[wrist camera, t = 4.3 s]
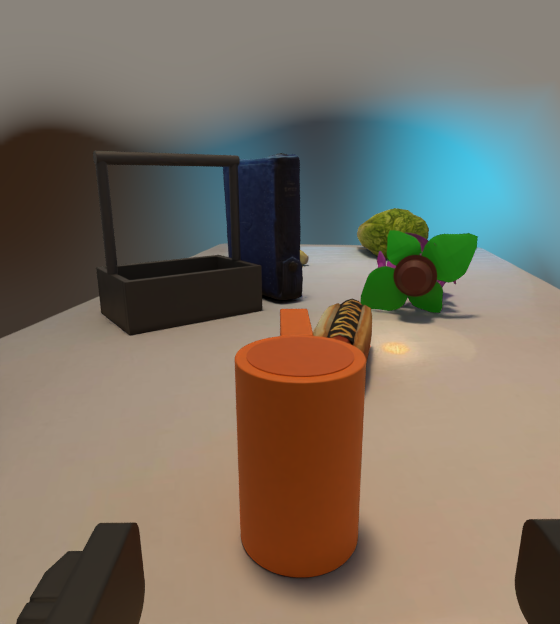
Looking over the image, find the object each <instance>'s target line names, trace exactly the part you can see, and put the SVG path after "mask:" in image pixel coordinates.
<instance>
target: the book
mask: <svg viewBox="0 0 560 624" xmlns="http://www.w3.org/2000/svg"><path fill="white" fill-rule="evenodd" d="M299 168H300V161H299V157H298V156H297V155H294V154H288V155H287V154H282V153H280V154H276V155H272V156H269V157H266V158H260V159H248V160H246V159H245V160H244V159H240V164H239V166H238V185H239V220H240V254H241V261H245V262H249V263H253V264H257V265H261V271H262V295H265V296H268V297H272V298H274V299H278V300H288V299H296V298H299V297H301V296H302V282H303V276H302V263H301V261H300V183H299V180H300V179H299V173H300V169H299ZM223 174H224V190H225V204H226V218H227V237H228V253H229V258H232V247H231V218H230V188H229V167H223Z"/></svg>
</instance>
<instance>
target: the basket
mask: <svg viewBox="0 0 560 624" xmlns="http://www.w3.org/2000/svg"><path fill="white" fill-rule="evenodd" d="M93 158H94V163H95V164H96V174H97V183H98V193H99V201H100V210H101V220H102V229H103V239H104V248H105V258H106V267H97V268H96V269H97V278H98V287H99V296H100V305H101V313H103V314H104V315H105V316H106V317H108V318H109V319H110V320H112V321H113V322H114V323H115V324H117V325H118V326H119V327H120V328H122V329H123V330H124V331H126V332H127V333H128V334H129V335H133V334H138V333H144V332H149V331H154V330H160V329H165V328H170V327H176V326H181V325H186V324H192V323H197V322H202V321H207V320H213V319H218V318H223V317H229V316H234V315H239V314H245V313H250V312H255V311H261V310H262V271H261V265H257V264H253V263H249V262H245V261H241V254H240V220H239V185H238V166H239V164H240V159H239V157H238V156H231V155H229V156H228V155H200V154H172V153H171V154H169V153H142V152H111V151H94V153H93ZM107 165H160V166H161V165H162V166H164V165H165V166H166V165H167V166H216V167H219V166H220V167H229V188H230V218H231V247H232V258H229V257H225V256H221V255H213V256H204V257H194V258H184V259H174V260H164V261H155V262H145V263H135V264H125V265H117V258H116V248H115V239H114V229H113V219H112V209H111V200H110V190H109V180H108V170H107Z"/></svg>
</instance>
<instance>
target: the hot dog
mask: <svg viewBox="0 0 560 624" xmlns="http://www.w3.org/2000/svg"><path fill="white" fill-rule="evenodd" d="M313 336H319V337H326V338H332V339H336V340H340V341H343V342H346V343H348V344H351V345H353V346H355V347H357V348H358V349H360V350H361V351H362V352H363V354H364V355H365V358H366V362H367V358H368V354H369V349H370V343H371V336H372V313H371V308H369V307H368V306H366V305H364V306H363V305H362V304H361V303H360V302H359V301H357V300H354V299H350V300H346V301H345V302H343V303H342V304H339V303H338V304H335V305H332V306H330V307H328V308H327V310H326V311H325V312H324V313H323V315H322V317H321V319H320V321H319V322H318V324H317V326H316V328H315V330H314V332H313Z"/></svg>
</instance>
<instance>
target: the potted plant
mask: <svg viewBox="0 0 560 624" xmlns="http://www.w3.org/2000/svg"><path fill="white" fill-rule="evenodd" d="M477 238H478V237H477V236H475V235H472V234H470V233H467V234H440V235H437V236H435V237H433V238H432V239H430V240H429V241H428V240H427V239H425V238H423V237H422V236H419V235H417V234H413V233H403V232H400V231H396V230H390V231H389V233H388V236H387V258H388V260H389V261H388V262H387V266H386V260H385V257H384V255H383V253H382V252H381V251H379V254H378V258H377V263H378V268H377V269H375V270H373V271H372V272H371V273H370V274H369V276H368V278H367V280H366V283H365V286H364V289H363V292H362V294H361V304H362V305H363V306H364V305H366V306H368V307H369V308H371V309H381V310H387V311H392V310H396V309H399V308H400V307H402V306H403V305H404V303H405V302H406V300H407V297H408V298H409V301H410V302H411V303H412V305H414V306H415V307H417V308H420V309H423V310H426V311H429V312H434V313H440V311H441V309H442V296H443V289H442V287H443V286H444V284H445V283H446V282H448V283H449V282H454V284H456V280H457V279H459V278H460V277H462V276H463V275H464V274H465V273H466V271H467V269H468V267H469V264H470V262H471V260H472V258H473V255H474V253H475V250H476V248H477ZM420 243H421V244H420ZM439 282H440V283H439Z"/></svg>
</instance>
